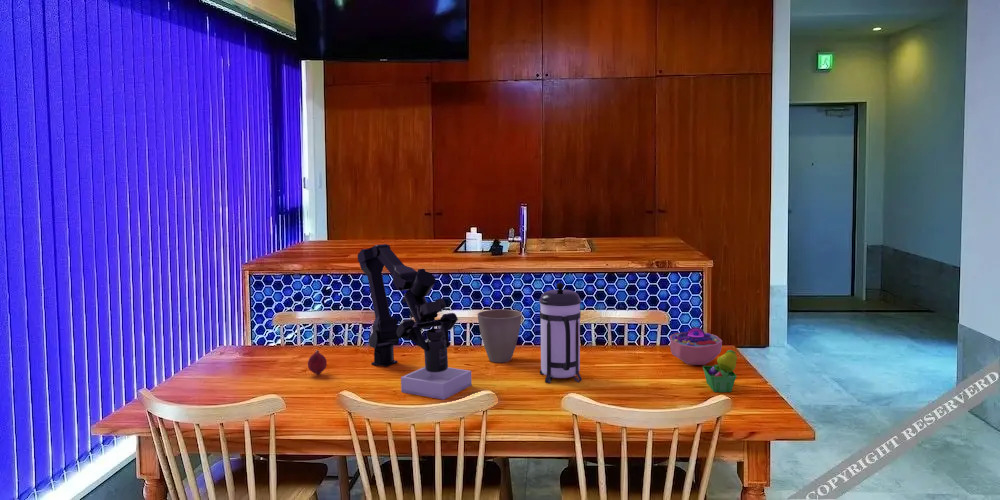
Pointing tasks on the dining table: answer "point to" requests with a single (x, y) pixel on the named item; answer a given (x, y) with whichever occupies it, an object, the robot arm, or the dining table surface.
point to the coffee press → (560, 334)
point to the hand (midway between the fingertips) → (437, 348)
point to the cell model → (695, 346)
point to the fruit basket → (722, 373)
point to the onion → (317, 363)
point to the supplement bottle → (436, 351)
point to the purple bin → (436, 382)
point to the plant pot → (499, 333)
